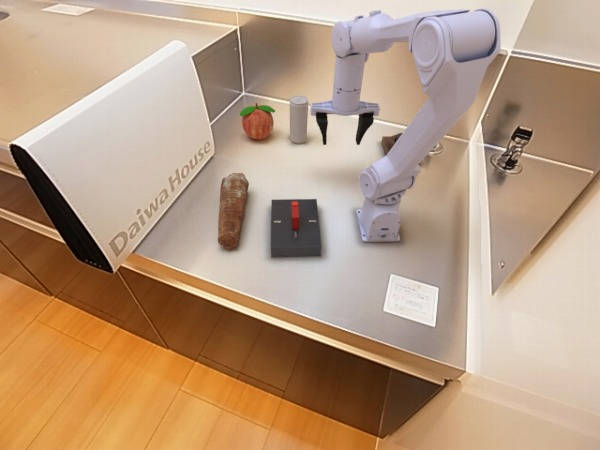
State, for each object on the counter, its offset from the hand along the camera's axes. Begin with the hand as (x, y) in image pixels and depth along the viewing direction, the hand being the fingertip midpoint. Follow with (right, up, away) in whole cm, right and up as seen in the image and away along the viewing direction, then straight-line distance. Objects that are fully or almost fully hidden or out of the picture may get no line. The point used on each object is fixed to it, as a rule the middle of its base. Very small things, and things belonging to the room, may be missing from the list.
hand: (341, 142), depth 85 cm
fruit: (-21, +6, +20) cm, 29 cm away
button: (+17, +3, +12) cm, 21 cm away
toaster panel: (-10, -20, -6) cm, 24 cm away
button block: (+17, 0, +15) cm, 23 cm away
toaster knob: (-10, -18, -8) cm, 22 cm away
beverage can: (-10, +5, +19) cm, 22 cm away
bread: (-24, -18, -3) cm, 30 cm away
